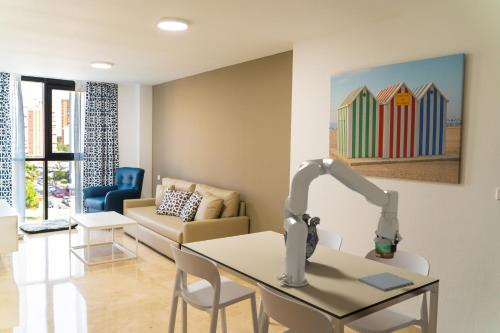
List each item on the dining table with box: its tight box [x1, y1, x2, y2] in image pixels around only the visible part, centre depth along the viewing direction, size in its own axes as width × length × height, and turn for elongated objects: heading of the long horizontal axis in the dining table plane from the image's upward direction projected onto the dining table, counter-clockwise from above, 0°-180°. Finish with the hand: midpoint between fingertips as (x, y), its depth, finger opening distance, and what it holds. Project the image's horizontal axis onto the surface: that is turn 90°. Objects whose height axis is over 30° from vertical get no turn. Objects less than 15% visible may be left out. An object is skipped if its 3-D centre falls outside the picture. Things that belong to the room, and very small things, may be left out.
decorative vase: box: [283, 213, 321, 266], centre depth 228 cm, size 21×19×28 cm
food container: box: [373, 236, 395, 260], centre depth 200 cm, size 12×6×10 cm, turn 106°
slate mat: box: [357, 271, 414, 292], centre depth 201 cm, size 22×16×1 cm
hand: (387, 250), depth 200 cm, fingers closed on food container, 6 cm apart
